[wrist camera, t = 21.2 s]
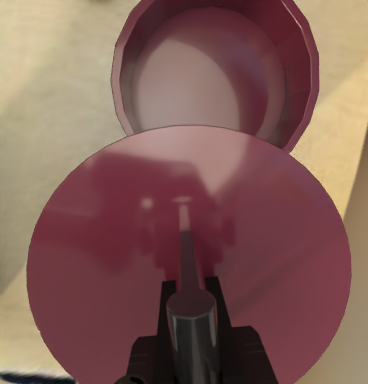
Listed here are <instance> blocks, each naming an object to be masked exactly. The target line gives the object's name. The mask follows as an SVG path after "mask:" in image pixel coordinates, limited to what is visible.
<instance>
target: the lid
mask: <svg viewBox="0 0 368 384" xmlns="http://www.w3.org/2000/svg"><path fill="white" fill-rule="evenodd" d="M213 276H218V278H219V282H220V285H221V289H222V293H223V296H224V300H225V304H226V307H227V311H228V315H229V318H230V322H231V326H232V327H240V326H252V327H253V328H254V329H255V330H256V331H257V332H258V333H259V336H260V338H261V341H262V344H263V346H264V348H265V352H266V353H267V356H268V358H269V361H270V363H271V366H272V368H273V371H274V373H275V376H276V378H277V381H278V383H279V384H294V383H295V382H296V381H297V380H298V379H300V378H301V377H302V376H303V375H305V373H306V372H307V371H308V370H309V369H310V368H311V367H312V366H313V365H314V364H315V363H316V362H317V361H318V359H319V358H320V357H321V355H322V354H323V353H324V352H325V350H326V349H327V347H328V346H329V344H330V343H331V341H332V339H333V337H334V336H335V333H336V332H337V330H338V327H339V325H340V323H341V320H342V318H343V316H344V313H345V309H346V305H347V302H348V298H349V293H350V284H351V276H352V275H351V254H350V248H349V243H348V237H347V234H346V231H345V228H344V225H343V222H342V219H341V216H340V214H339V212H338V210H337V208H336V207H335V205H334V203H333V201H332V199H331V197H330V196H329V195H328V193H327V192H326V190H325V189H324V188H323V186H322V185H321V183H320V182H319V181H318V180H317V179H316V178H315V177H314V176H313V175H312V174H311V173H310V171H309V170H308V169H307V168H306V167H305V166H303V165H302V164H301V163H300V162H298V161H297V160H296V159H295V158H293V157H292V156H291V155H289V154H288V153H287V152H285V151H283V150H281V149H280V148H278V147H276V146H275V145H273V144H271V143H269V142H268V141H265V140H263V139H260V138H258V137H255V136H253V135H250V134H248V133H245V132H241V131H237V130H233V129H229V128H225V127H217V126H208V125H173V126H167V127H161V128H154V129H150V130H146V131H143V132H140V133H137V134H133V135H130V136H127V137H125V138H123V139H121V140H119V141H116V142H114V143H112V144H110V145H108V146H106V147H104V148H103V149H101V150H100V151H98V152H97V153H95V154H94V155H92V156H90V157H89V158H87V159H86V160H85V161H84V162H83V163H81V164H80V165H79V166H78V167H77V168H76V169H74V170H73V171H72V172H71V173H70V174H69V175H68V176H67V177H66V179H65V180H64V181H63V182H62V183H61V184H60V185H59V186H58V188H57V189H56V190H55V191H54V193H53V195H52V196H51V198H50V199H49V201H48V202H47V204H46V205H45V207H44V209H43V211H42V213H41V215H40V217H39V220H38V222H37V224H36V226H35V229H34V232H33V236H32V239H31V243H30V246H29V252H28V260H27V291H28V297H29V304H30V308H31V311H32V314H33V318H34V321H35V324H36V326H37V328H38V330H39V333H40V335H41V337H42V339H43V341H44V343H45V344H46V346H47V347H48V349H49V350H50V352H51V353H52V355H53V356H54V358H55V359H56V360H57V361H58V362H59V364H60V365H61V366H62V367H63V368H64V369H65V371H66V372H67V373H68V374H70V375H71V376H72V377H73V378H74V379H75V380H76V381H77V382H78V383H79V384H114V383H115V382H116V381H117V380H118V379H120V378H121V377H122V376H125V375H126V372H127V367H128V362H129V358H130V353H131V348H132V345H133V344H134V342H135V341H136V339H137V338H138V337H142V336H152V335H157V327H158V317H159V308H160V298H161V288H162V281H170V280H176V288H177V292H176V293H174V294H173V295H172V296H171V297H170V298H169V299H168V301H167V304H166V310H167V318H168V327H169V335H170V344H171V352H172V361H173V369H174V376H175V384H222V375H221V360H220V347H219V333H218V319H217V306H216V299H215V297H214V296H213V295H212V294H211V293H210V292H208V291H206V289H205V277H213Z"/></svg>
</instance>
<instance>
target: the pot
mask: <svg viewBox="0 0 368 384" xmlns="http://www.w3.org/2000/svg"><path fill="white" fill-rule="evenodd" d="M307 21H308V20H307V19H306V18H305V16H304V15H303V14H302V12H301V11H300V9H299V8H298V7H297V5H296V4H295V3H294V1H293V0H141V1H140V2H139V3H138V4H137V6H136V7H135V8H134V9H133V10H132V11H131V12H130V14H129V17H128V19H127V21H126V23H125V25H124V27H123V29H122V31H121V34H120V36H119V38H118V40H117V42H116V45H115V50H114V58H113V65H112V73H111V86H112V92H113V98H114V104H115V110H116V115H117V117H118V119H119V121H120V123H121V125H122V127H123V129H124V131H125V133H126V135H127V136H130V135H133V134H137V133H140V132H143V131H146V130H150V129H154V128H161V127H167V126H173V125H208V126H217V127H225V128H229V129H233V130H237V131H241V132H245V133H248V134H250V135H253V136H255V137H258V138H260V139H263V140H265V141H268V142H269V143H271V144H273V145H275V146H276V147H278V148H280V149H281V150H283V151H285V152H287V153H288V154H289V153H290V152H291V151H292V150H293V148H294V147H295V145H296V144H297V142H298V140H299V139H300V137H301V136H302V134H303V133H304V131H305V129H306V128H307V126H308V125H309V123H310V121H311V117H312V114H313V110H314V107H315V103H316V100H317V96H318V93H319V53H318V50H317V47H316V44H315V41H314V38H313V35H312V32H311V29H310V26H309V23H308V22H307Z"/></svg>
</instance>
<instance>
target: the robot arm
mask: <svg viewBox="0 0 368 384" xmlns="http://www.w3.org/2000/svg"><path fill="white" fill-rule="evenodd" d="M205 289H206V291H208V292H210V293H211V294H212V295H213V296H214V297H215V299H216V306H217V319H218V333H219V347H220V360H221V375H222V384H279V383H278V381H277V378H276V376H275V373H274V371H273V368H272V366H271V363H270V361H269V358H268V356H267V353H266V352H265V348H264V346H263V344H262V341H261V338H260V336H259V333H258V332H257V331H256V330H255V329H254V328H253V327H252V326H240V327H232V326H231V322H230V318H229V315H228V311H227V307H226V304H225V300H224V296H223V293H222V289H221V285H220V282H219V278H218V276H213V277H205ZM176 292H177V288H176V280H170V281H162V288H161V298H160V308H159V317H158V327H157V335H152V336H142V337H138V338H137V339H136V341H135V342H134V344H133V345H132V348H131V353H130V358H129V362H128V367H127V372H126V375H125V376H122V377H121V378H120V379H118V380H117V381H116V382H115V383H114V384H175V376H174V369H173V361H172V352H171V344H170V335H169V327H168V318H167V310H166V304H167V301H168V299H169V298H170V297H171V296H172V295H173V294H174V293H176Z"/></svg>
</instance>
